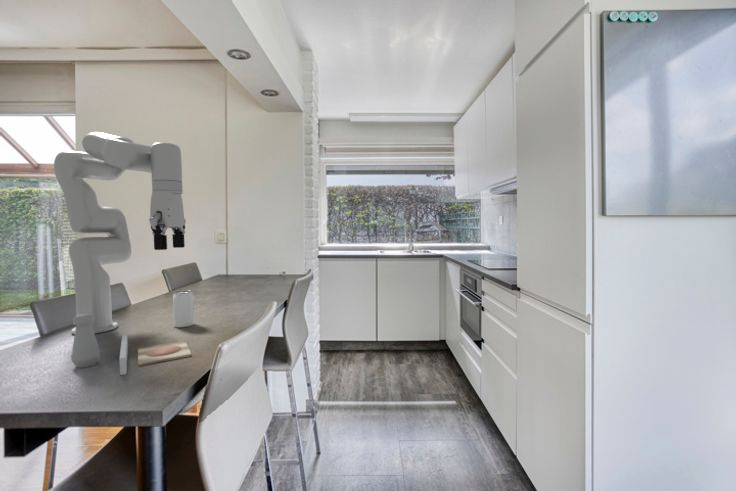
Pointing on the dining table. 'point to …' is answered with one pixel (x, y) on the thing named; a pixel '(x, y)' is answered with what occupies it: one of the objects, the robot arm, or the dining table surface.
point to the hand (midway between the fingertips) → (170, 248)
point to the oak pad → (163, 352)
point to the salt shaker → (84, 342)
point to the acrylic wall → (123, 355)
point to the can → (183, 309)
